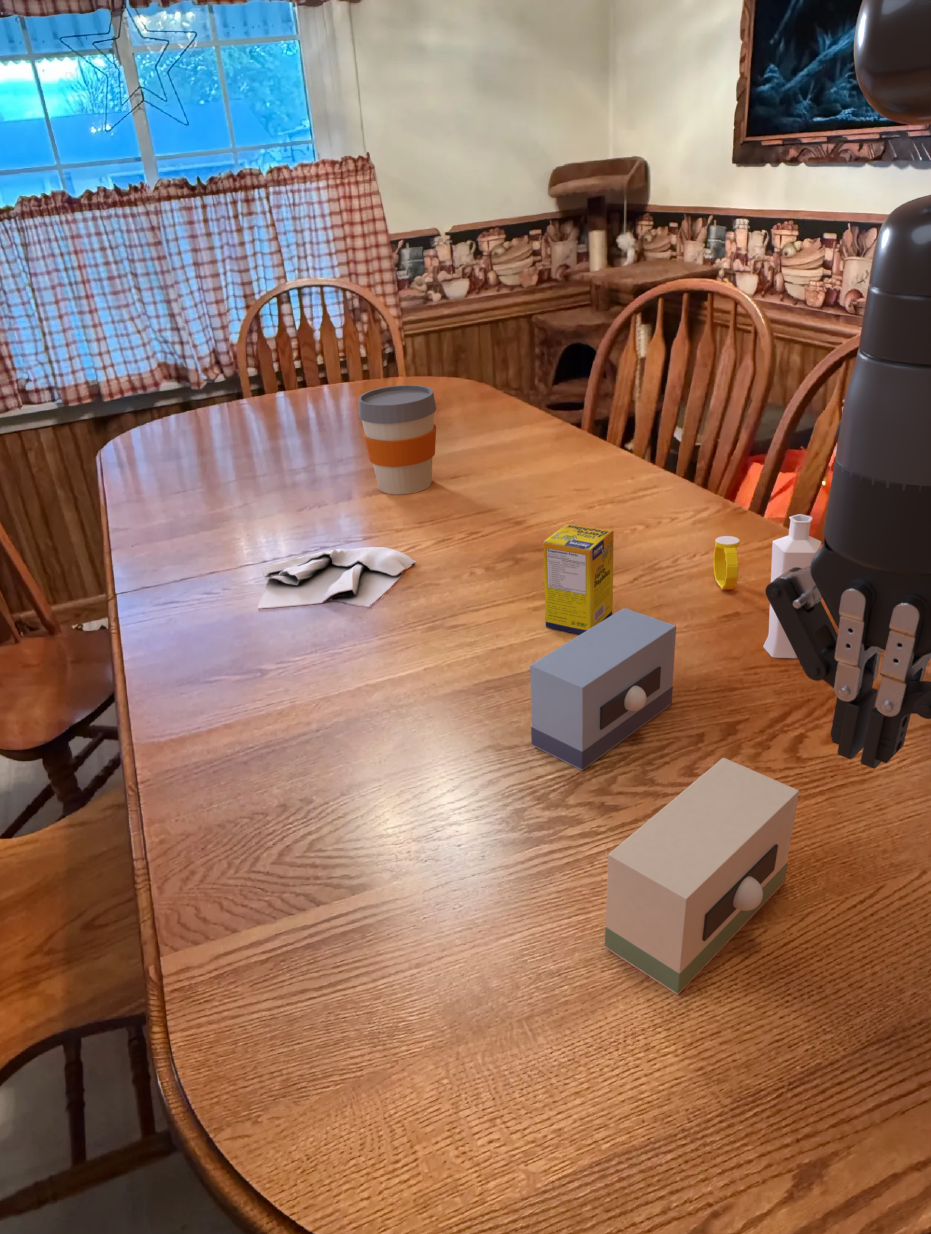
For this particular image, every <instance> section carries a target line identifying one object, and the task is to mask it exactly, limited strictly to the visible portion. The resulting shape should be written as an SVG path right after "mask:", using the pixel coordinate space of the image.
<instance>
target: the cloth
mask: <svg viewBox="0 0 931 1234" xmlns="http://www.w3.org/2000/svg"><path fill="white" fill-rule="evenodd" d="M416 564H417V561H416V560H415V559H413V558H412V557H410V556H409V555H407V554H405V553H403V552H402V551H399V550H397V549H394V548H390V547H384V546H375V547H374V546H370V547H367V546H366V547H365V546H363V547H362V546H361V547H358V548H349V549H348V548H336V549H326V550H321V551H318V552H316V553H310V554H304V555H302V556H299V557H294V558H287V559H285V560H282V561H279V562H277V563H273V564H270V565H267V566H265V567H261V571H262V574H263V575H264V578H266V577H267V576H270V578H268V579H267V581H266V584H265V587H264V590H263V592H262V595H261V597H260V600H259V602H258V605H257V610H263V609H276V608H286V607H299V606H312V605H319V604H323V603H324V602H325V601H327V600H329V601H332V602H336V603H337V602H338V603H344V604H347V605H351V606H357V607H364V608H370V607H372V606H373V605H374V604H375V603H376V602H377V601H378V600H379V599H380V598H382V597H383V596H384V595H385V594H386V593H387V592H388V591H389V590H390V589H392V587H393V586H394V585H396V584H397V582H399V580H400V579H402V577H403V574H404V573H403V571H406V570H408V569H409V568H411V567H413V566H415V565H416ZM329 598H330V599H329Z"/></svg>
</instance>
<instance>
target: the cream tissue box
mask: <svg viewBox="0 0 931 1234" xmlns="http://www.w3.org/2000/svg"><path fill="white" fill-rule="evenodd" d="M799 794H800V790H799V789H797V788H795V787H793V786H790V785H787V784H785V783H783V782H781V781H778V780H776V779H774V778H772V777H770V776H767V775H764V774H763V773H760V772H758V771H755V770H753V769H751V768H748V767H746V766H744V765H742V764H740V763H737V762H735V761H733V760H730V759H728V758H726V757H722V758H721V759H720V760H718V761H717V762H716V763H715V764H714V765H712V766H711V767H710V768H709V769H708V770H706V771H705V772H704V773H703V774H701V775H700V776H699V777H698V778H697V779H695V781H693V782H692V783H690V785H688V786H687V787H686V788H685V789H684V790H683V791H681V792H680V793H679V794H678V795H676V796H675V797H674V798H673V799H672V800H671V801H669V802H668V803H667V804H665V806H664V807H662V808H661V809H660V810H658V812H656V813H655V814H654V815H652V816H651V817H650V818H649V819H648V820H647V821H645V822H644V823H643V824H642V825H641V826H640V827H639V828H637V829H636V830H635V831H634V832H632V834H630V835H629V836H628V837H627V838H626V839H624V840H622V842H621V843H620V844H618V845H617V846H616V847H615V848H614V849H613V850H611V851H610V852H609V853H608V854H607V872H606V873H607V875H606V876H607V877H606V909H605V910H606V913H605V927H604V947H605V949H606V950H608V951H609V952H611V953H613V954H614V955H616V956H617V957H618V958H620V959H622V960H623V961H625V962H626V963H628V964H629V965H630V966H632V967H634V968H635V969H637V970H638V971H640V972H641V973H643V974H644V975H646V976H647V977H649V978H651V979H652V980H654V981H655V982H657V983H658V984H660V985H661V986H663V987H664V988H666V989H667V990H669V991H670V992H671V993H673V994H675V995H677V996H678V995H679V994H680V993H681V992H682V991H683V990H684V989H685V988H686V987H687V986H688V985H689V984H690V983H691V982H692V981H693V979H695V978H696V976H697V975H698V974H699V973H700V972H701V971H702V970H704V968H705V967H706V966H707V965H708V964H709V963H710V962H711V961H712V960H713V958H715V956H717V954H718V953H719V952H720V951H722V949H723V948H724V947H725V946H727V944H728V943H729V942H730V941H731V940H732V938H734V937H735V935H737V933H738V932H739V931H740V930H741V929H742V928H744V926H745V925H746V924H747V923H748V922H749V921H750V919H752V918H753V916H754V915H755V914H756V913H757V912H759V910H760V909H761V908H762V907H763V906H764V905H765V904H766V902H768V901H769V899H770V898H771V897H772V896H773V895H774V894H775V893H776V892H777V891H778V890H779V889H780V888H781V887H782V886H783V885H784V884H785V882H786V876H787V870H788V865H789V862H788V859H789V854H790V847H791V841H792V835H793V830H794V825H795V818H796V812H797V806H798V800H799Z"/></svg>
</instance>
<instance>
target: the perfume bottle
mask: <svg viewBox="0 0 931 1234" xmlns="http://www.w3.org/2000/svg"><path fill="white" fill-rule="evenodd" d="M788 518H789V520H790V522H789V529H788V535H784V536H782V537H779V538H777V539H774V540H772V544H771V572H770V583H771V582H773V581H774V580H775V579H776V578H778V577H779V576H781V575H782V574H783V573H785V572H787V571H789V570H790V569H792V568H794V567H799V568H802V569H803V568H806V567H808V566H811V562H812V559H813V557H814V556H815V555H816V554H817V553H818V551H819V550H820V549H821V547H822V541H821V540H820V539H817V538H815V537H813V536H811V535H810V530H811V529H810V528H811V522H812V521H813V518H814V517H813V516H811V515H806V514H802V513H798V514H794V515H791V516H789V517H788ZM768 616H769V617H768V635H767V637H766V639H765V642H764V644H763V646H762V647H763V649H764V650H765V652H766V653H768V655H769V656H770V657H771V658H772V659H773V658H774V659H798V658H797V656H796V654H795V652H794V650H793V648H792V646H791V644H790V642H789V640H788V638H787V636H786V634H785V632H784V630H783V628H782V626H781V624H780V622H779V620H778V618H777V616H776V614H775V612H774V610H773V608H772V606H771V604H770V603H769V615H768Z"/></svg>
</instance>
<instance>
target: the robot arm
mask: <svg viewBox="0 0 931 1234" xmlns="http://www.w3.org/2000/svg"><path fill="white" fill-rule="evenodd" d="M853 61H854V71H855V76H856V80H857V83H858V86H859V88H860V91H861V93H862V94H863V97H864V98H865V100H866V101H867V103H868V104H869V106H870V107H871V108H872V109H873V110H874V111H876V113H878V115H880V116H881V117H883V118H885V119H887V120H889V121H891V122H895V123H899V124H905V125H911V126H912V125H914V126H931V0H862V2H861V5H860V7H859V12H858V16H857V18H856V24H855V31H854V39H853ZM871 261H872V262H871V265H870V272H869V279H868V286H867V292H866V297H865V305H864V311H863V316H862V322H861V323H862V324H861V328H860V329H861V330H860V336H859V342H858V349H857V354H856V359H855V363H854V366H853V369H852V373H851V376H850V379H849V383H848V386H847V389H846V393H845V396H844V399H843V400H844V401H843V406H842V411H841V417H840V418H841V419H840V420H839V421H838V424H837V429H836V433H835V434H836V435H835V441H836V450H835V451H836V452H835V457H834V463H833V470H832V476H831V484H830V489H829V494H828V495H829V497H828V502H827V509H826V514H825V522H824V528H823V537H824V540H823V543H822V544H821V546H820V550H819V551H818V553H817V554H816V555H815V556H814V557H813V559H812V562H811V566H808V567H806V568H803V569H802V568H799V567H794V568H792V569H790V570H789V571H787V572H785V573H783V574H782V575H781V576H779V577H778V578H776V579H775V580H774V581H773V582H771V581H770V582H769V583H768V584H767V585H766V587H765V595H766V598H767V600H768V602H769V605H770V604H771V606H772V608H773V610H774V612H775V614H776V616H777V618H778V620H779V622H780V624H781V626H782V628H783V630H784V632H785V634H786V636H787V638H788V640H789V642H790V644H791V646H792V648H793V650H794V652H795V654H796V656H797V658H796V659H798V662H799V664H800V666H801V668H802V670H803V672H804V673H805V675H806V676H807V678H809V679H810V680H812V681H815V682H819V681H824V682H825V683H827V684H828V685H829V686H831V687H832V689H833V692H834V695H835V696H836V701H835V707H834V713H833V720H832V724H831V729H830V737H831V741H832V743H833V744H836V745H838V747H837V755H838V756H840V757H843V758H846V759H848V760H853V759H854V758H855V757H856V756H857V755H858V754H860V752H861V751H862V753H861V758H860V764H861V765H863V766H865V767H867V768H871V769H874V770H876V769H877V767H879V766H880V764H882V763H884V764H888V763H889V762H890V761H891V760H892V758H893V757H894V756H895V755H896V754H897V753H899V751H900V750H901V749H902V748H903V747H904V746H905V741H906V736H907V733H908V732H907V731H908V729H909V728H908V727H909V723H910V720H911V715H913V714H914V715H918V716H919V717H920V718H923V719H926V720H931V681H930V680H923V679H924V675H925V672H926V668H927V665H928V663H929V662H930V660H931V194H928V195H924V196H920V197H917V198H913V199H911V200H908V201H906V202H904V203H902V204H901V205H899V206H897V207H895V208H894V209H893V210H892V211H891V212H890V213H889V214H888V215H887V216H886V218H885V219H884V221H883V223H882V224H881V226H880V229H879V231H878V234H877V238H876V241H875V245H874V250H873V255H872V260H871ZM822 599H823V602H824V604H825V606H826V608H827V609H828V611H829V613H830V616H831V617H832V620H833V622H834V623H835V625H836V626H837V629H838V630H837V631H836V628H835V626H834V625H833V623H832V621H831V619H830V617H829V615H828V613H827V610H826V609H825V606H824V605H823V602H822V601H821V600H822ZM882 651H884V654H883V657H882V662H881V666H880V660H881V654H882ZM879 666H880V670H879ZM878 671H879V674H880V676H881V679H880V685H879V689H877V688H874V682H875V681H876V680H877V678H878Z"/></svg>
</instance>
